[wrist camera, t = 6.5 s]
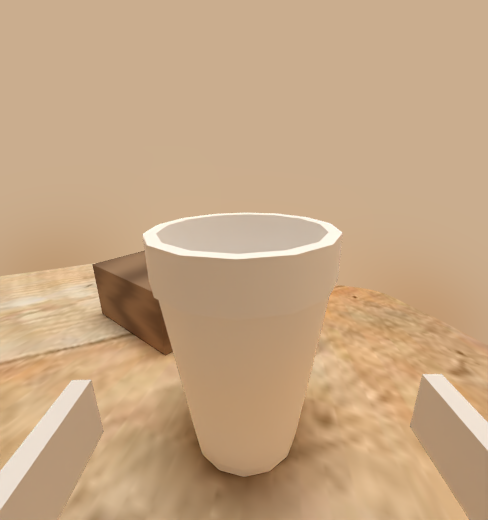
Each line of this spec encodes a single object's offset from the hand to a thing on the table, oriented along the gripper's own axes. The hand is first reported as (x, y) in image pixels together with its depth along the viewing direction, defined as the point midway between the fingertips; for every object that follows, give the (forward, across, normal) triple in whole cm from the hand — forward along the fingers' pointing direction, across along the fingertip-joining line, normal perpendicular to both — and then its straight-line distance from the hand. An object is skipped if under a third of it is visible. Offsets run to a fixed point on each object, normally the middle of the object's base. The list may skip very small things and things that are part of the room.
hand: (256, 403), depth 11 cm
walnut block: (+20, -8, -7) cm, 23 cm away
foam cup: (+5, 0, -7) cm, 9 cm away
